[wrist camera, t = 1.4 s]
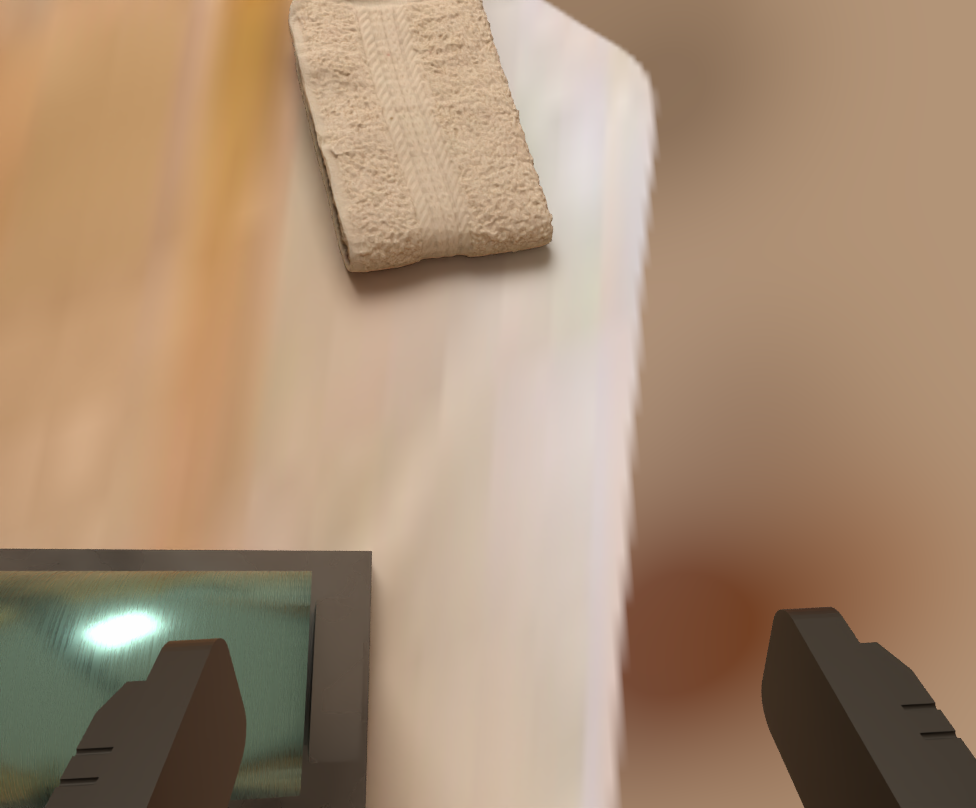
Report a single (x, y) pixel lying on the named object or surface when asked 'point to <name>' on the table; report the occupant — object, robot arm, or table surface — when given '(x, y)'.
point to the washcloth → (415, 131)
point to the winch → (189, 616)
